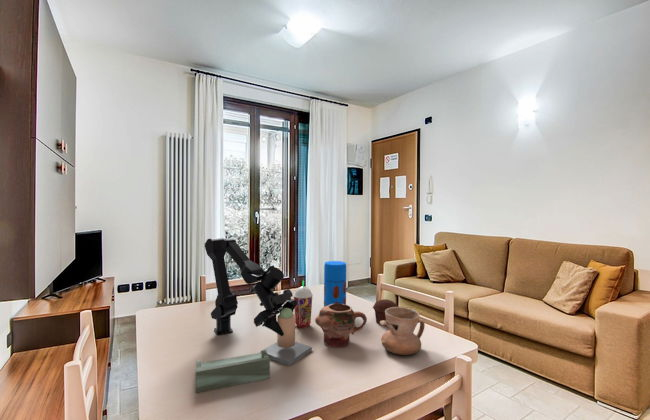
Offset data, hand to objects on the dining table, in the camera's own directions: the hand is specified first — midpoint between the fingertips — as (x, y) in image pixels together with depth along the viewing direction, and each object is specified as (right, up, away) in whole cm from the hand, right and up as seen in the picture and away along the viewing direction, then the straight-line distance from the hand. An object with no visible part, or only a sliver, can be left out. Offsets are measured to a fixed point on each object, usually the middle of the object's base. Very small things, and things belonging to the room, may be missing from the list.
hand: (289, 332), depth 112 cm
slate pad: (-1, -8, +1) cm, 8 cm away
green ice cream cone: (-1, -5, +1) cm, 5 cm away
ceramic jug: (+42, -8, +4) cm, 43 cm away
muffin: (+40, -8, +31) cm, 52 cm away
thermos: (+18, -7, +41) cm, 46 cm away
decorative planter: (+19, -8, +10) cm, 23 cm away
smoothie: (+3, -8, +27) cm, 28 cm away
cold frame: (-17, -8, -13) cm, 22 cm away
